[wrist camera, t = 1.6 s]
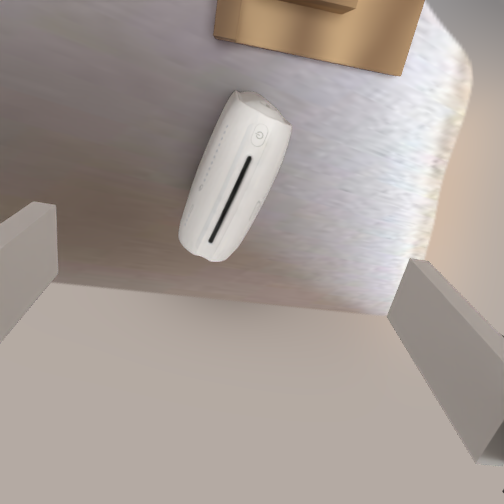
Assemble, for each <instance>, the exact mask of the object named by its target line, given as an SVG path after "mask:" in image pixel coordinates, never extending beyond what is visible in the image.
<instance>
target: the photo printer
mask: <svg viewBox="0 0 504 504" xmlns="http://www.w3.org/2000/svg"><path fill="white" fill-rule="evenodd" d="M291 131H292V125H291V124H290V123H289V122H288V121H286V120H285V119H284V118H283V117H282V115H281V113H280V112H279V111H278V110H277V109H276V108H275V107H274V106H273V105H272V104H271V103H270V102H268V101H267V100H266V99H265V98H264V97H263V96H261V95H260V94H258V93H255V92H251V91H244V92H238V91H237V90H235V91H234V92H233V94H232V95H231V96H230V98H229V99H228V101H227V103H226V105H225V106H224V109H223V111H222V113H221V115H220V117H219V119H218V121H217V124H216V126H215V128H214V130H213V133H212V135H211V137H210V140H209V142H208V144H207V147H206V149H205V152H204V154H203V156H202V159H201V162H200V164H199V167H198V169H197V172H196V175H195V178H194V180H193V183H192V186H191V189H190V192H189V196H188V199H187V202H186V205H185V209H184V212H183V215H182V218H181V222H180V227H179V241H180V242H181V244H182V245H183V247H185V248H186V249H187V250H188V251H189V252H191V253H192V254H194V255H198V256H201V257H204V258H206V259H207V260H209V261H212V262H221V261H224V260H226V259H227V258H228V257H229V256H230V255H231V254H232V253H233V252H234V251H235V250H236V249H237V248H238V246H239V245H240V243H241V242H242V240H243V239H244V237H245V235H246V234H247V232H248V230H249V229H250V227H251V225H252V223H253V221H254V220H255V218H256V216H257V214H258V212H259V210H260V208H261V206H262V205H263V203H264V201H265V199H266V197H267V194H268V192H269V190H270V188H271V186H272V184H273V182H274V180H275V178H276V175H277V173H278V171H279V168H280V166H281V164H282V161H283V159H284V155H285V152H286V150H287V147H288V143H289V140H290V135H291Z"/></svg>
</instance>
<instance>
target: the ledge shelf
mask: <svg viewBox="0 0 504 504" xmlns="http://www.w3.org/2000/svg"><path fill="white" fill-rule="evenodd" d="M424 1H425V0H217V9H216V17H215V25H214V33H213V36H214V37H215V39H220V40H225V41H230V42H235V43H239V44H244V45H249V46H254V47H259V48H263V49H268V50H273V51H278V52H283V53H287V54H292V55H297V56H302V57H306V58H311V59H316V60H321V61H326V62H330V63H335V64H340V65H345V66H350V67H354V68H359V69H364V70H369V71H374V72H378V73H383V74H388V75H393V76H401V74H402V71H403V68H404V65H405V61H406V58H407V55H408V52H409V49H410V46H411V42H412V39H413V36H414V33H415V30H416V27H417V23H418V20H419V17H420V14H421V11H422V8H423V4H424Z"/></svg>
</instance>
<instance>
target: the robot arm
mask: <svg viewBox="0 0 504 504" xmlns="http://www.w3.org/2000/svg"><path fill="white" fill-rule="evenodd" d="M57 275H58V247H57V217H56V205H54V204H47V203H41V202H34V201H33V202H31V203H30V204H28V205H27V206H25V207H24V208H23V209H21V210H20V211H18V212H17V213H15V214H14V215H12V216H11V217H10V218H8V219H7V220H5V221H4V222H2V223H1V224H0V343H1V342H2V341H3V339H4V338H5V337H6V336H7V335H8V333H9V332H10V331H11V330H12V329H13V327H14V326H15V325H16V324H17V323H18V321H19V320H20V319H21V318H22V317H23V315H24V314H25V313H26V312H27V311H28V309H29V308H30V307H31V306H32V305H33V303H34V302H35V301H36V300H37V299H38V297H39V296H40V295H41V294H42V293H43V291H44V290H45V289H46V288H47V287H48V285H49V284H50V283H51V282H52V281H53V279H54V278H55V277H56V276H57ZM387 318H388V320H389V321H390V323H391V325H392V326H393V328H394V330H395V331H396V333H397V335H398V336H399V338H400V340H401V341H402V343H403V344H404V346H405V348H406V349H407V351H408V353H409V354H410V356H411V358H412V359H413V361H414V363H415V364H416V366H417V368H418V369H419V371H420V373H421V374H422V376H423V377H424V379H425V381H426V383H427V384H428V386H429V387H430V389H431V391H432V393H433V394H434V396H435V397H436V399H437V401H438V402H439V404H440V406H441V407H442V409H443V411H444V412H445V414H446V416H447V417H448V419H449V421H450V422H451V424H452V426H453V427H454V429H455V431H456V432H457V434H458V435H459V437H460V439H461V440H462V442H463V444H464V445H465V447H466V449H467V450H468V452H469V454H470V455H471V457H472V459H473V460H474V462H475V463H476V464H482V465H494V466H503V464H504V336H503V335H501V334H500V333H498V331H497V330H496V329H495V328H494V327H493V326H492V325H491V324H490V323H489V322H488V321H487V320H486V319H485V318H484V317H483V316H482V315H481V314H480V313H479V312H478V311H477V310H476V309H475V308H474V307H473V306H472V305H471V304H470V303H469V302H468V301H467V300H466V299H465V298H464V297H463V296H462V295H461V294H460V293H459V292H458V291H457V290H456V289H455V288H454V287H453V286H452V285H451V284H450V283H449V282H448V281H447V280H446V279H445V278H444V277H443V276H442V274H441V273H440V272H439V271H437V269H436V268H434V266H433V265H431V263H430V262H429V261H424V260H418V259H411V258H410V259H409V262H408V264H407V267H406V269H405V272H404V274H403V277H402V280H401V282H400V285H399V287H398V290H397V292H396V295H395V297H394V300H393V302H392V305H391V307H390V310H389V312H388V315H387ZM503 493H504V490H503Z"/></svg>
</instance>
